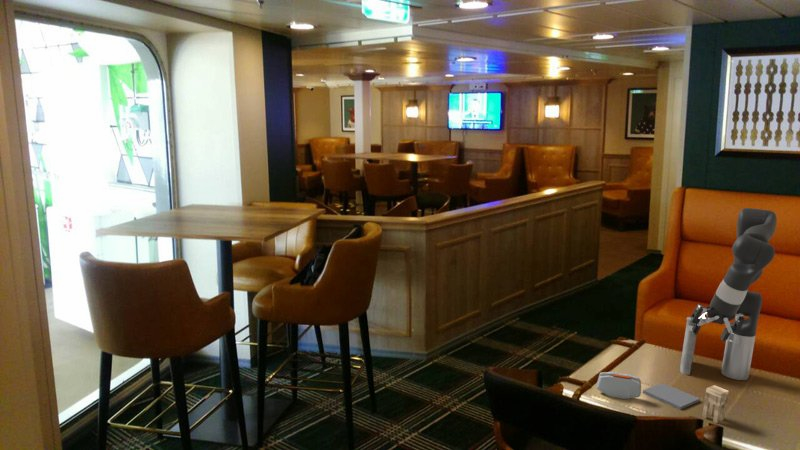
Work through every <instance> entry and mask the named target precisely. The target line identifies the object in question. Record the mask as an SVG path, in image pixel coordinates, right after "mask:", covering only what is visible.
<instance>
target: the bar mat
mask: <svg viewBox="0 0 800 450" xmlns="http://www.w3.org/2000/svg"><path fill="white" fill-rule="evenodd" d="M642 393H643V394H644V395H647V396H649V397H651V398H653V399H655V400H658V401H660V402H662V403H665V404H667V405H669V406H671V407H673V408H676V409H678V410H683V409H686V408H688V407H690V406H692V405H694V404H697V403H699V402H700V401H701V398H699V397H696V396H695V395H692V394H690V393H687V392H686V391H682V390H681V389H678V388H676V387H674V386H670V385H668V384H666V383H663V382H662V383H659V384H655V385H653V386H651V387H648V388H645V389H643V390H642Z"/></svg>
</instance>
